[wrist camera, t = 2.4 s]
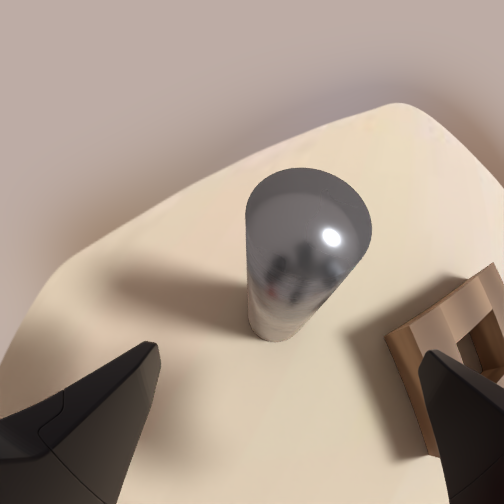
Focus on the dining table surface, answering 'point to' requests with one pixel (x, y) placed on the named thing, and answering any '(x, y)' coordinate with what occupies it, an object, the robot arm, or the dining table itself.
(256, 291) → the steel pin
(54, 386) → the dining table surface
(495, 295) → the block
